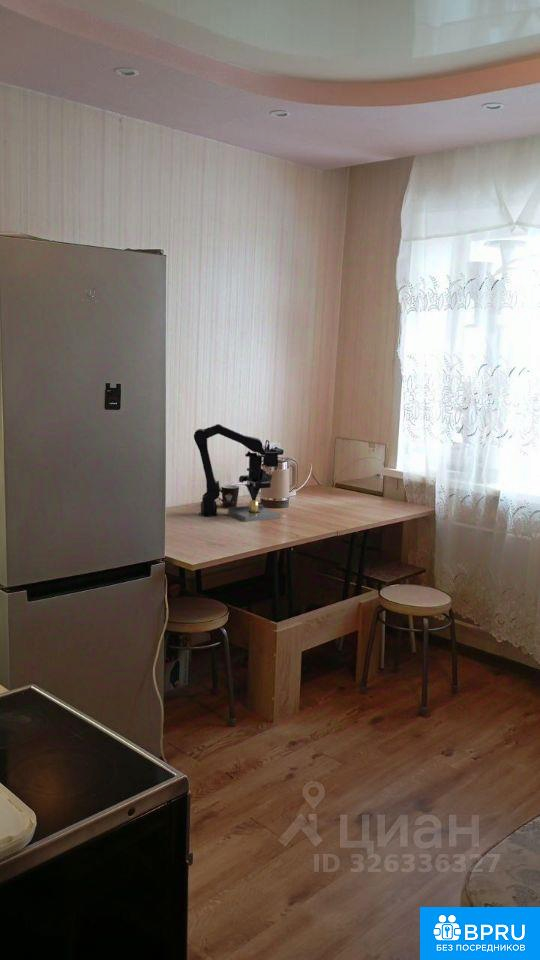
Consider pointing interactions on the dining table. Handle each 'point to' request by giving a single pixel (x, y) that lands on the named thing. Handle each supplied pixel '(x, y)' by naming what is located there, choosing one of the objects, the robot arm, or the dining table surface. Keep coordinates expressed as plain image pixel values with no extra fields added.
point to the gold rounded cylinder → (253, 506)
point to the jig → (245, 515)
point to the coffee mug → (229, 495)
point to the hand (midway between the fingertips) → (253, 500)
